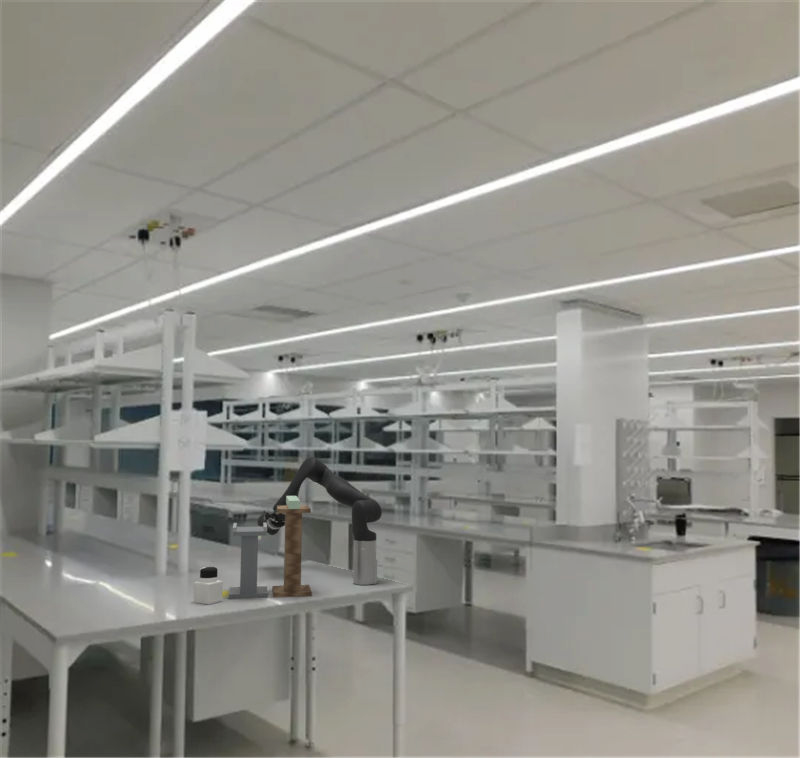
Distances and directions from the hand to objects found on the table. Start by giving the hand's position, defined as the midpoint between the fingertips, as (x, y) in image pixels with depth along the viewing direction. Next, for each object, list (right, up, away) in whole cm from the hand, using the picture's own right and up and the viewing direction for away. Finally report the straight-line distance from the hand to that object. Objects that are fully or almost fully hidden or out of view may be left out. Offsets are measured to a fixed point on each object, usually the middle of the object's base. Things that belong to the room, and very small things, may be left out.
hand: (285, 514), depth 302 cm
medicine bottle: (-21, -24, -40) cm, 51 cm away
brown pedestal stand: (+6, -25, -24) cm, 35 cm away
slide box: (+5, +6, -16) cm, 18 cm away
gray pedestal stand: (-10, -25, -27) cm, 38 cm away
